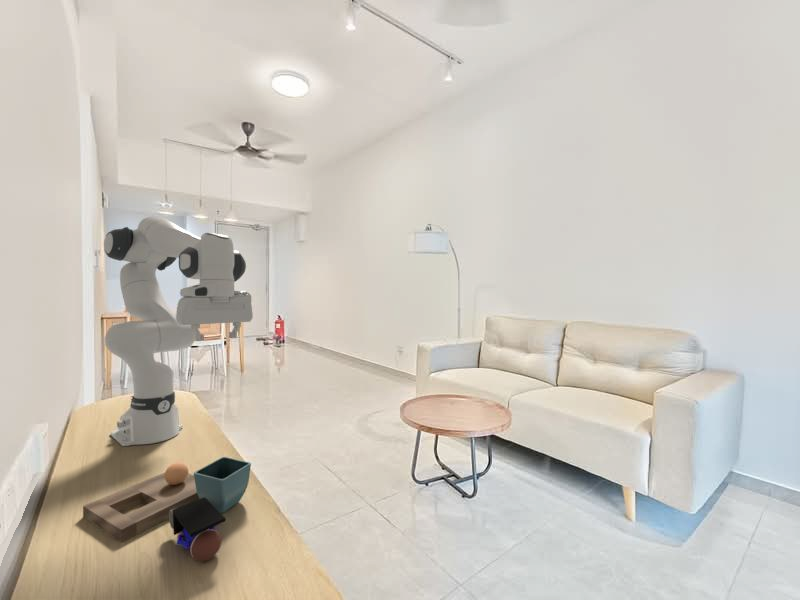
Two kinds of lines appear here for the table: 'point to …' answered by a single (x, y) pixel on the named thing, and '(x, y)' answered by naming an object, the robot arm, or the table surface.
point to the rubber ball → (176, 473)
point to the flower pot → (223, 482)
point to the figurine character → (197, 528)
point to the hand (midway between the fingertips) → (217, 339)
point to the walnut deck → (156, 509)
